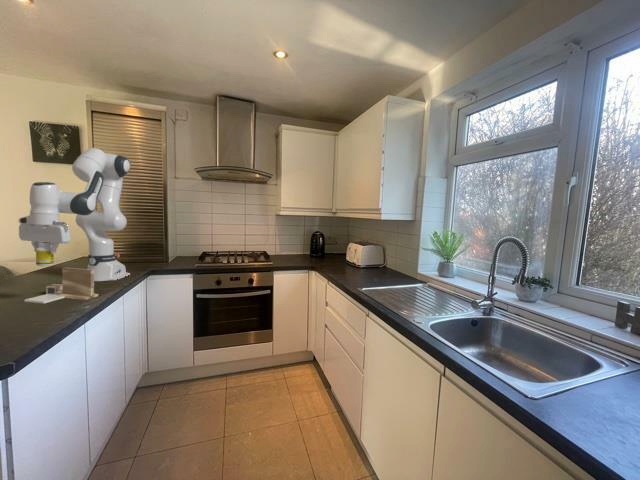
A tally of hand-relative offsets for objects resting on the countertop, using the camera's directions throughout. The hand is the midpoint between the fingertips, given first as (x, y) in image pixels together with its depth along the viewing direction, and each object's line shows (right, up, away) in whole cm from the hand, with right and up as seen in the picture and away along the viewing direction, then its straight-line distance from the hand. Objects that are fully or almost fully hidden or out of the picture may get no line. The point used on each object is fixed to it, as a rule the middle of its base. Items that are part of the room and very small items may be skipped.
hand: (45, 252), depth 117 cm
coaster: (-1, -21, +2) cm, 21 cm away
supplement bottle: (0, -6, 0) cm, 6 cm away
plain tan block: (-6, -20, +10) cm, 23 cm away
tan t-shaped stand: (+7, -21, +8) cm, 23 cm away
